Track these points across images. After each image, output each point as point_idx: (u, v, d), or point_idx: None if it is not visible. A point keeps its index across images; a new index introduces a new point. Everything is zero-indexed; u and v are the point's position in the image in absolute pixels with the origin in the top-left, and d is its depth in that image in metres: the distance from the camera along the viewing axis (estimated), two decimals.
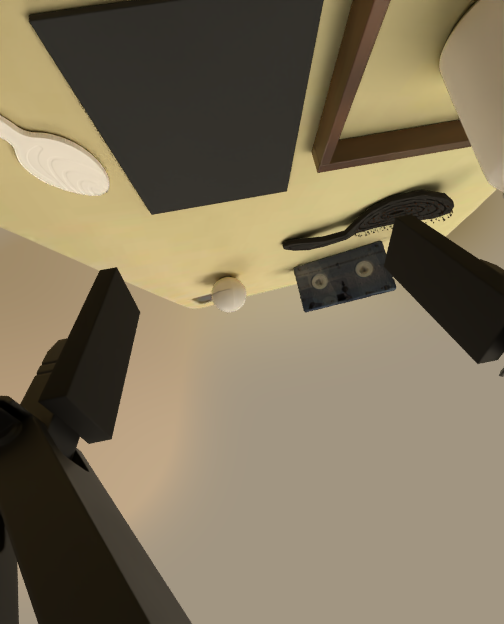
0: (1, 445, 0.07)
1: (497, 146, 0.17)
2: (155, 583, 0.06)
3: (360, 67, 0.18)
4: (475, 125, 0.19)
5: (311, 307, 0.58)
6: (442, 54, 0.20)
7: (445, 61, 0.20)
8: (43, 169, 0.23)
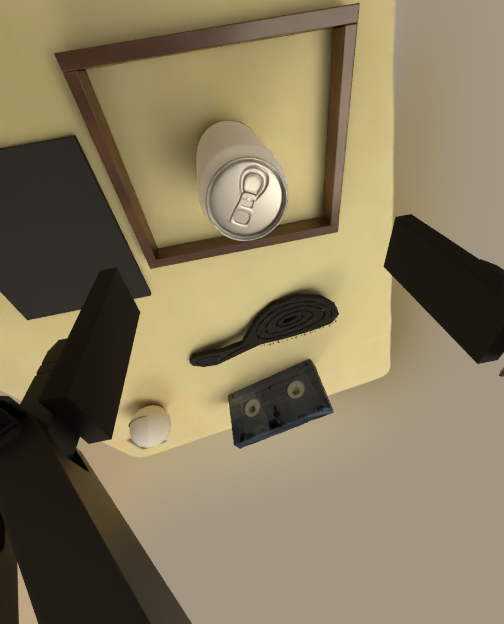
0: (1, 445, 0.07)
1: None
2: (155, 583, 0.06)
3: (117, 178, 0.25)
4: None
5: (243, 440, 0.49)
6: None
7: None
8: None
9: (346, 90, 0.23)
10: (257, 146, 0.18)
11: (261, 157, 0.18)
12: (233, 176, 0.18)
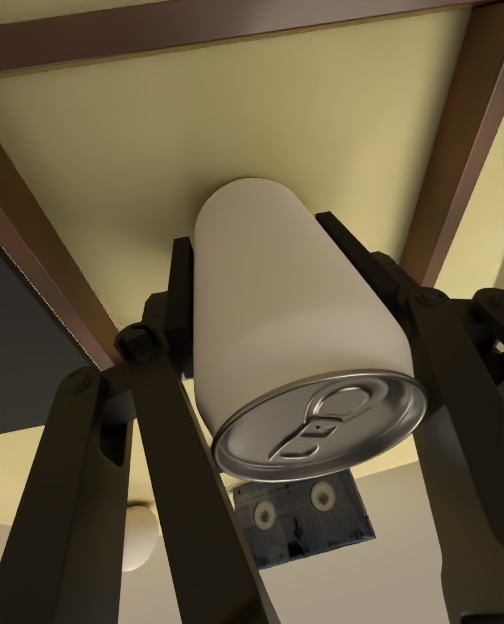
0: (139, 361, 0.08)
1: None
2: (236, 520, 0.06)
3: (45, 283, 0.13)
4: None
5: None
6: None
7: None
8: None
9: (489, 130, 0.12)
10: (360, 310, 0.06)
11: (376, 350, 0.06)
12: (293, 398, 0.06)
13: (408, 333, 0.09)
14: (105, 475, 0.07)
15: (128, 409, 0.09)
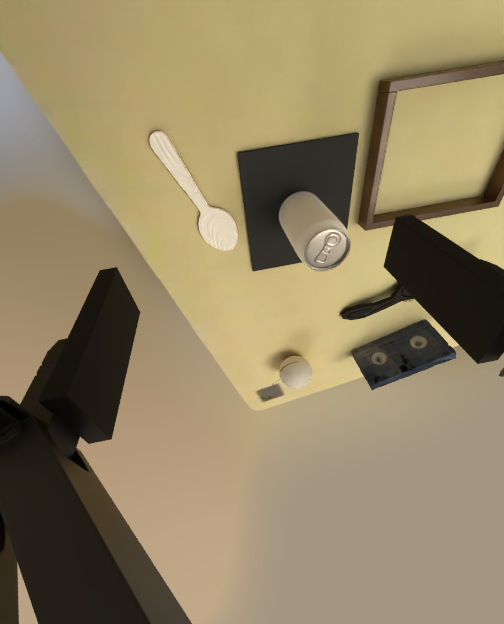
0: (1, 444, 0.07)
1: (295, 245, 0.34)
2: (155, 583, 0.06)
3: (381, 162, 0.37)
4: (290, 242, 0.37)
5: (376, 382, 0.60)
6: (280, 223, 0.42)
7: (281, 225, 0.41)
8: (207, 229, 0.41)
9: None
10: (335, 220, 0.32)
11: (338, 227, 0.32)
12: (322, 237, 0.32)
13: None
14: None
15: None
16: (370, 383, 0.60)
